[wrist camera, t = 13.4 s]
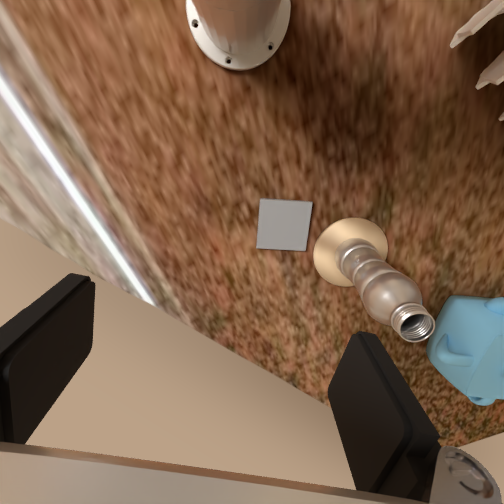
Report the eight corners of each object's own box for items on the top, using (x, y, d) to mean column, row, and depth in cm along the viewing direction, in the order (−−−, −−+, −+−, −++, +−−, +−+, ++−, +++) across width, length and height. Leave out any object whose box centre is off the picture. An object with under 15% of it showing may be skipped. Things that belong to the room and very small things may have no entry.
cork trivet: (327, 209, 46) (328, 210, 45) (397, 226, 47) (400, 228, 46) (303, 276, 50) (304, 278, 50) (368, 290, 52) (370, 292, 51)
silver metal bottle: (352, 278, 50) (415, 364, 31) (322, 256, 48) (370, 333, 29) (380, 249, 48) (464, 322, 29) (349, 225, 46) (419, 287, 28)
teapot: (515, 334, 56) (593, 393, 43) (432, 371, 59) (482, 436, 46) (489, 260, 50) (570, 303, 37) (398, 306, 53) (445, 359, 40)
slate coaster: (260, 198, 45) (260, 199, 44) (311, 201, 45) (312, 202, 45) (256, 246, 48) (256, 248, 47) (304, 249, 48) (305, 251, 48)
